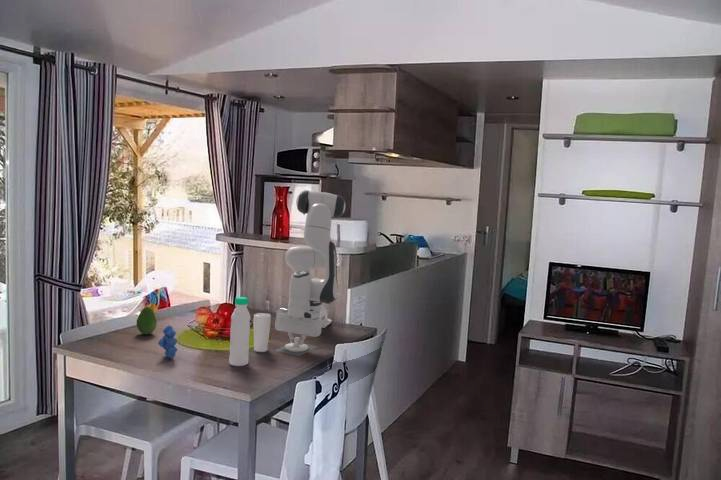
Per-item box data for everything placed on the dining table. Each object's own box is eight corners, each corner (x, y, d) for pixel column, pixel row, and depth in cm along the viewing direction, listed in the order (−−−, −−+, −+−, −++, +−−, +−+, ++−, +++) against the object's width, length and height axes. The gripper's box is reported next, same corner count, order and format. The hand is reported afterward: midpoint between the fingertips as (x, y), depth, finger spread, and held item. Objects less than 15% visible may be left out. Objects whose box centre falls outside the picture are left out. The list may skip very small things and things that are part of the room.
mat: (293, 343, 236) (293, 341, 236) (318, 347, 232) (318, 346, 232) (273, 352, 222) (273, 350, 222) (299, 357, 217) (299, 355, 217)
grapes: (153, 354, 208) (154, 323, 207) (171, 352, 212) (172, 322, 211) (161, 363, 199) (162, 330, 198) (180, 361, 203) (181, 329, 202)
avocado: (156, 331, 240) (157, 304, 239) (155, 336, 233) (156, 308, 232) (136, 332, 237) (137, 304, 236) (135, 336, 230) (136, 308, 229)
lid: (292, 343, 233) (292, 333, 233) (312, 347, 229) (312, 337, 229) (280, 349, 224) (281, 338, 224) (301, 353, 220) (301, 342, 220)
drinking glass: (265, 354, 218) (267, 317, 216) (249, 352, 219) (251, 315, 218) (271, 350, 224) (273, 314, 223) (255, 348, 226) (257, 312, 224)
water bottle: (230, 367, 200) (234, 299, 198) (227, 361, 206) (230, 296, 204) (250, 366, 202) (253, 299, 200) (246, 360, 209) (249, 295, 207)
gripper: (272, 308, 226) (271, 341, 228) (317, 315, 219) (314, 349, 220) (280, 306, 232) (278, 338, 233) (324, 313, 225) (321, 346, 226)
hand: (296, 343), depth 227 cm, fingers closed on lid, 3 cm apart
